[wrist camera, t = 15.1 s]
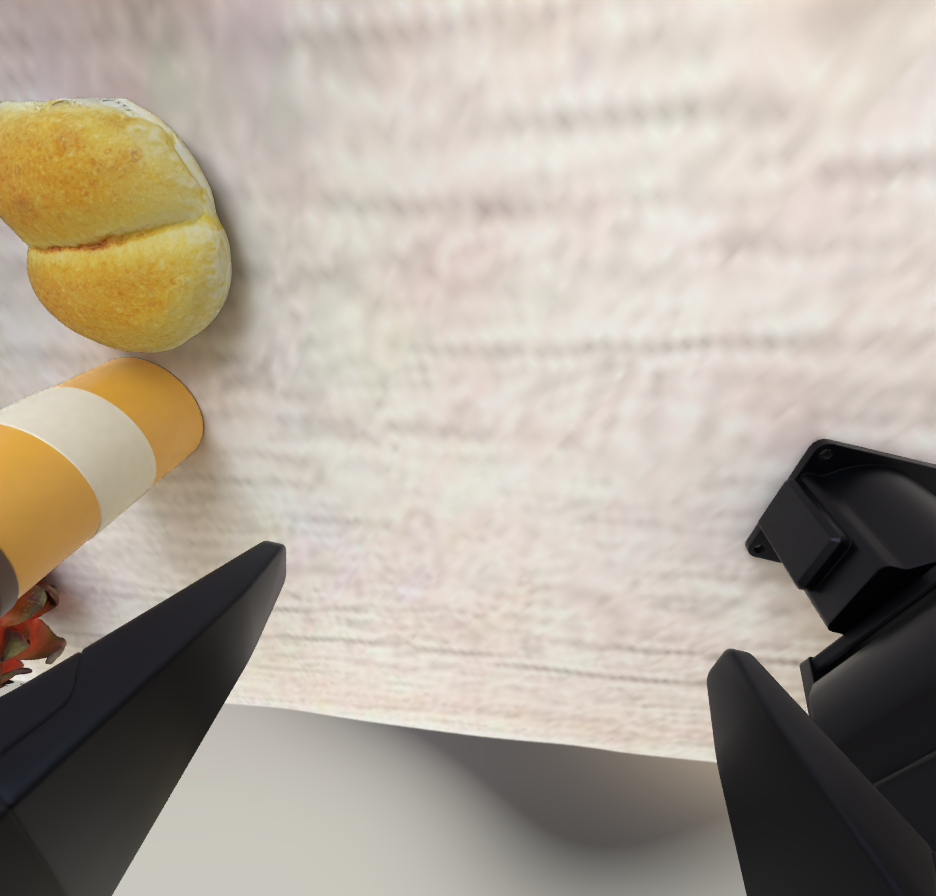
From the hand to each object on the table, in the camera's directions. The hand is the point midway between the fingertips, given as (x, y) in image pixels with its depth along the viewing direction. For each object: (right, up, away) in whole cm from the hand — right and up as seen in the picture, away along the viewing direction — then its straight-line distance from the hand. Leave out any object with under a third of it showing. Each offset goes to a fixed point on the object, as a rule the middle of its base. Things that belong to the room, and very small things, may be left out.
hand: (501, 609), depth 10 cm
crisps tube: (-17, +5, +15) cm, 23 cm away
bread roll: (-14, +12, +10) cm, 21 cm away
